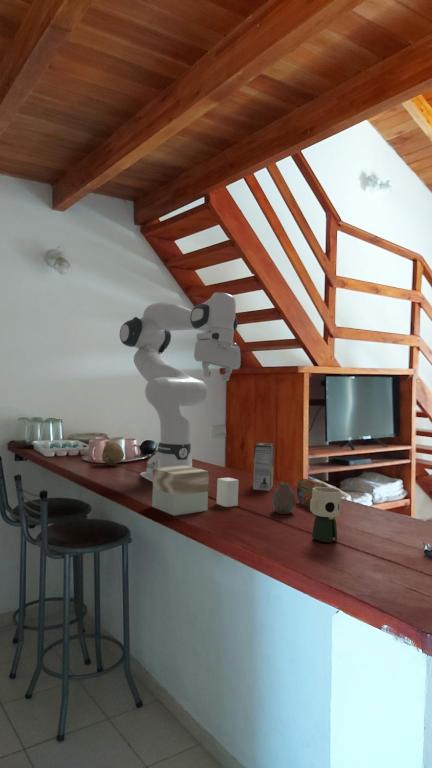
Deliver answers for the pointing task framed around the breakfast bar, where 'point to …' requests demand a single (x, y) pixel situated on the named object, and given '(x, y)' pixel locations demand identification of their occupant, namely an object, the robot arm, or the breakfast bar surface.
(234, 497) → the offwhite block
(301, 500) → the tin
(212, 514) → the breakfast bar surface
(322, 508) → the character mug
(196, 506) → the tower base
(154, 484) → the tower top
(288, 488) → the vase
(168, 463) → the robot arm
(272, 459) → the coffee box
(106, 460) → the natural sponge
